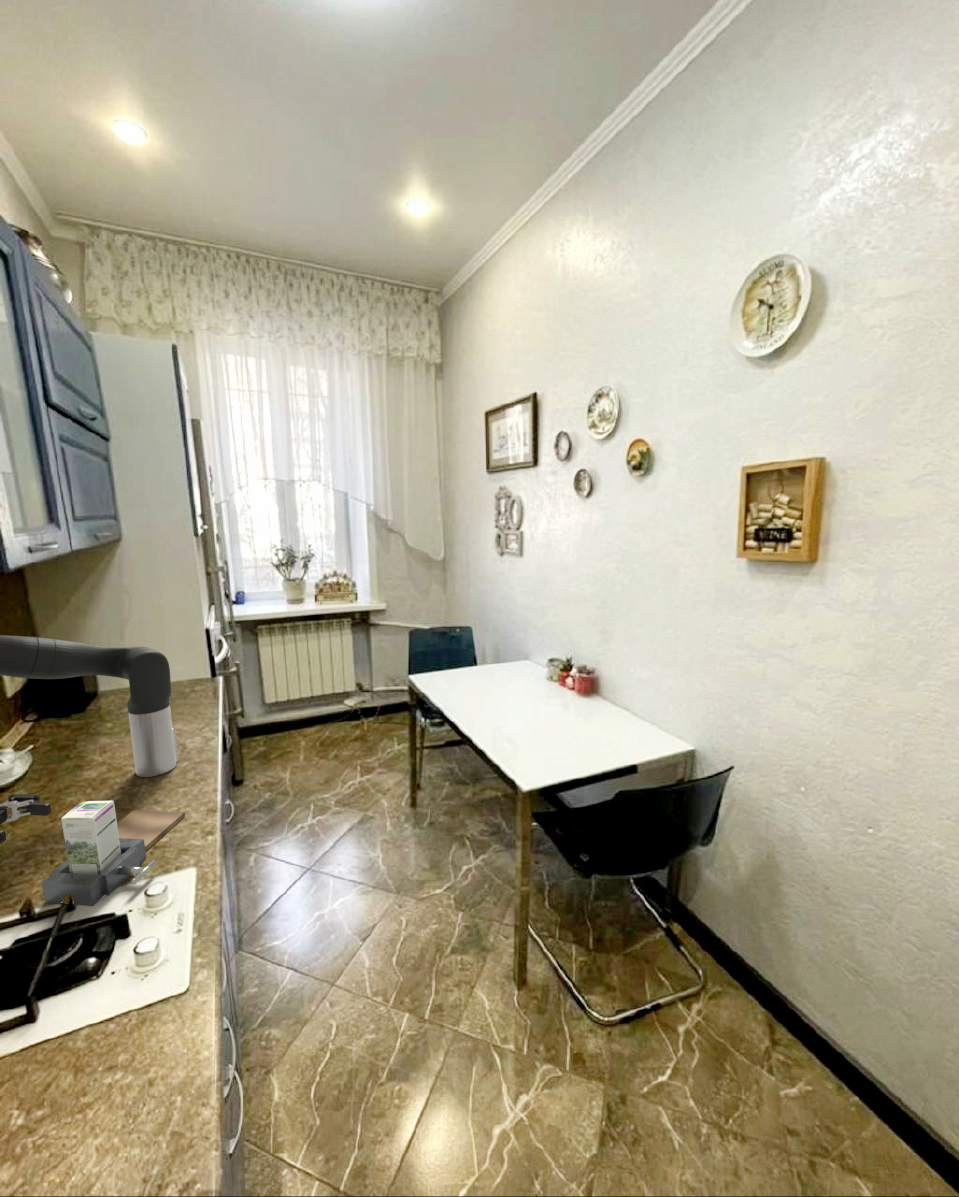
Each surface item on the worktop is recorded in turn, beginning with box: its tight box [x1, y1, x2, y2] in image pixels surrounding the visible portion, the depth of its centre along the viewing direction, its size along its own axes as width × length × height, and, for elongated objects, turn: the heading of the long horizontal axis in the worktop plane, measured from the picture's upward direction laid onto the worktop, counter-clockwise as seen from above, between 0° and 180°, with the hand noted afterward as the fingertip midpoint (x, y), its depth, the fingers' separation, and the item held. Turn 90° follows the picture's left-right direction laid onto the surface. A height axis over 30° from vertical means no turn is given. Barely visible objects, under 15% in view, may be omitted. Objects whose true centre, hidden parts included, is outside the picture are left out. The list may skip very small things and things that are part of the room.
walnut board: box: [117, 809, 186, 852], centre depth 107 cm, size 12×12×1 cm
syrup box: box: [60, 800, 121, 875], centre depth 91 cm, size 6×6×14 cm
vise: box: [41, 838, 157, 907], centre depth 92 cm, size 12×15×4 cm
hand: (27, 822), depth 92 cm, fingers open, 8 cm apart
